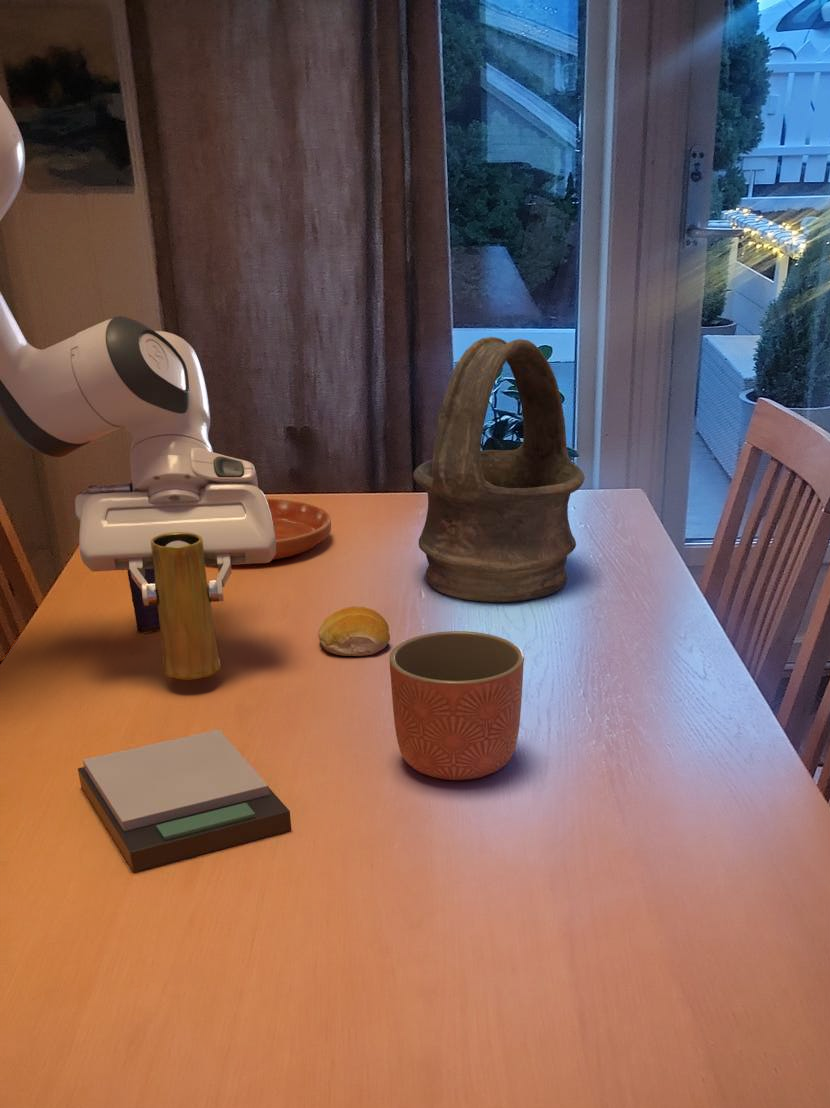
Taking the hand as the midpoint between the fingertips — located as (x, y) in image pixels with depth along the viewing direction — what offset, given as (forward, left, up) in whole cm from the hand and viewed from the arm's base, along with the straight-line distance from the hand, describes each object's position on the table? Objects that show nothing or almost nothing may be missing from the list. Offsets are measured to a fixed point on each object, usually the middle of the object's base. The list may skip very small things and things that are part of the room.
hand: (184, 601), depth 128 cm
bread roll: (+20, +3, -10) cm, 23 cm away
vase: (0, +1, -8) cm, 8 cm away
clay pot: (+46, +15, -10) cm, 50 cm away
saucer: (+23, +45, -10) cm, 51 cm away
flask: (+3, +21, -10) cm, 23 cm away
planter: (+16, -29, -10) cm, 35 cm away
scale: (-10, -25, -10) cm, 29 cm away
